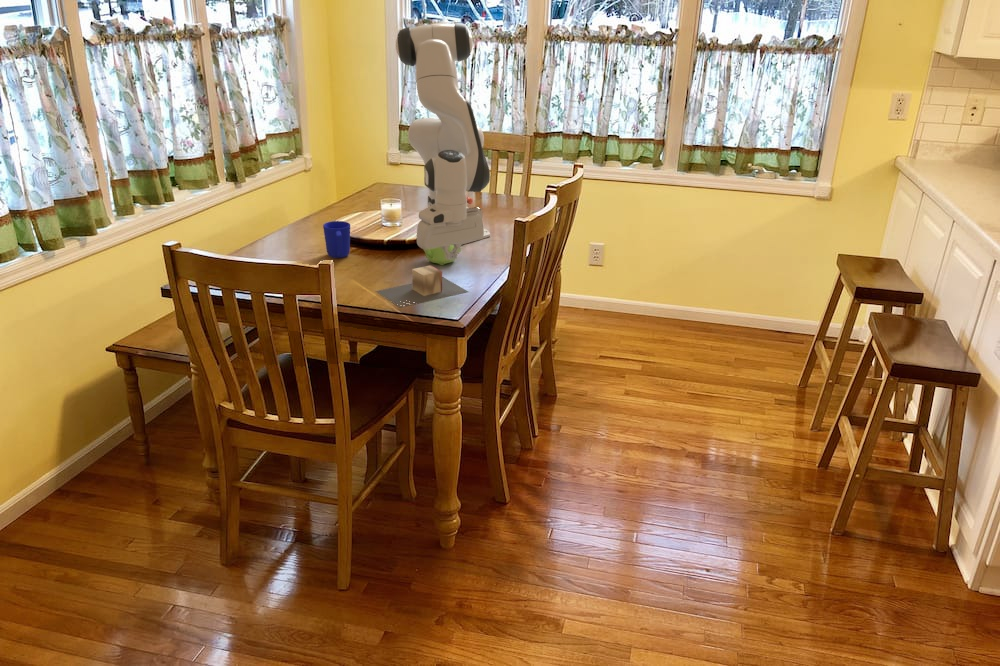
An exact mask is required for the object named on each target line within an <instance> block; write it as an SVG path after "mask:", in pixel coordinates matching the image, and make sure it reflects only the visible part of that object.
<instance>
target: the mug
mask: <svg viewBox="0 0 1000 666" xmlns="http://www.w3.org/2000/svg"><path fill="white" fill-rule="evenodd" d="M322 226H323V227H322V228H323V233H324V241H325V247H326V254H327V255H328V256H329V257H330V258H333V259H342V258H346V257H348V256H349V254H350V249H351V248H350V247H351V246H350V245H351V224H350V222H347V221H343V220H334V221H333V220H332V221H328V222H325V223H324V224H323V225H322Z"/></svg>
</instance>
